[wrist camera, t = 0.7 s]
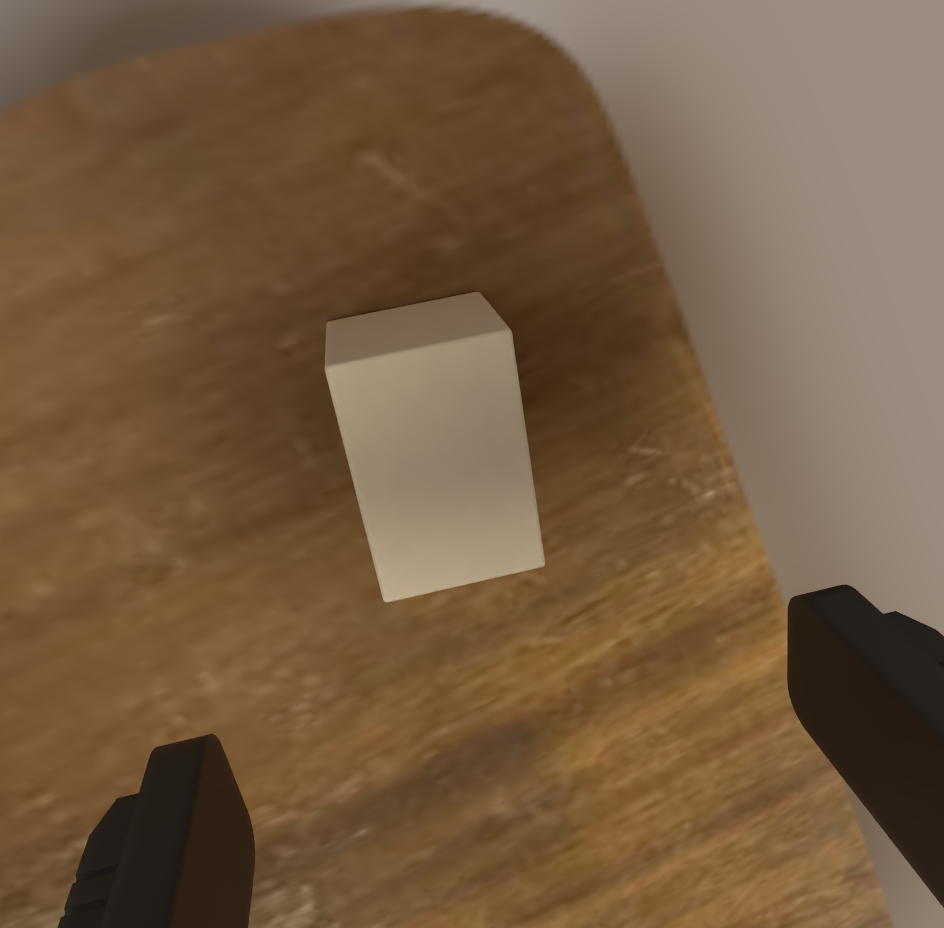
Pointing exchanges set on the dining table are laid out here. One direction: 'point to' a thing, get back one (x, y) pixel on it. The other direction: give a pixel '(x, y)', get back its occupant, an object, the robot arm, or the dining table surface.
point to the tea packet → (435, 443)
